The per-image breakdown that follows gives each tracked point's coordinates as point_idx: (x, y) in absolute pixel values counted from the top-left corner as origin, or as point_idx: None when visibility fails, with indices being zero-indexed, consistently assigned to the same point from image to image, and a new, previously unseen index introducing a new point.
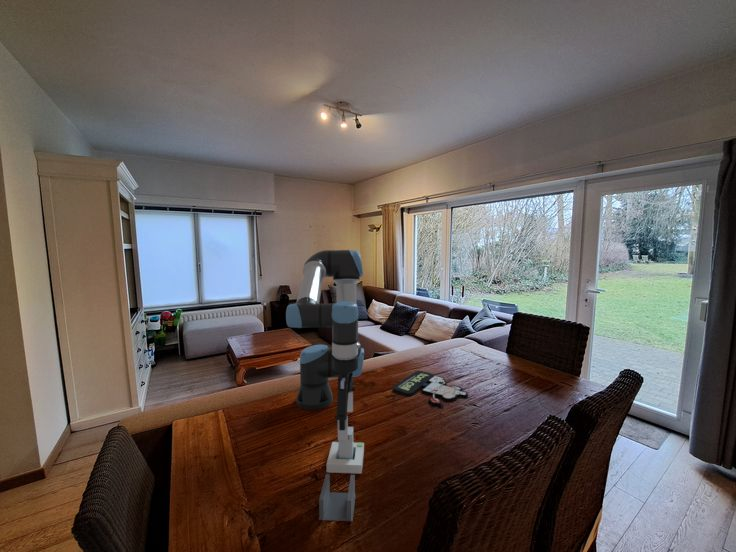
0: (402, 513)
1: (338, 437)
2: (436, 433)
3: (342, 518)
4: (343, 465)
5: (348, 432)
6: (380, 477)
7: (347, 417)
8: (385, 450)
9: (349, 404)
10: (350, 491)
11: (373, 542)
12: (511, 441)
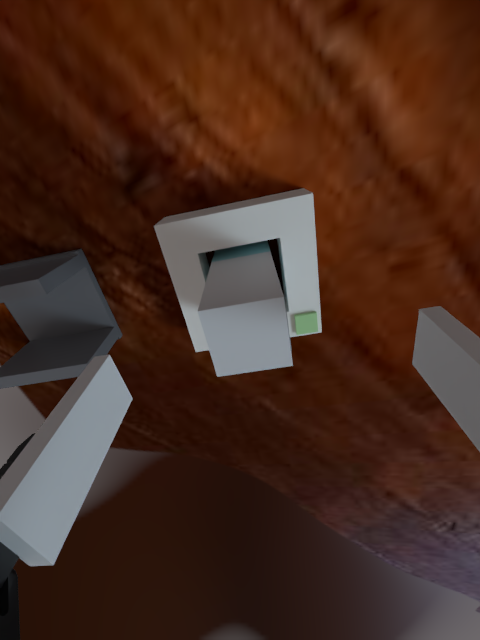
0: (124, 428)
1: (89, 369)
2: (414, 469)
3: (28, 329)
4: (176, 293)
5: (232, 356)
6: (210, 377)
7: (43, 558)
8: (328, 371)
9: (452, 390)
10: (23, 379)
11: (30, 393)
12: (379, 558)
